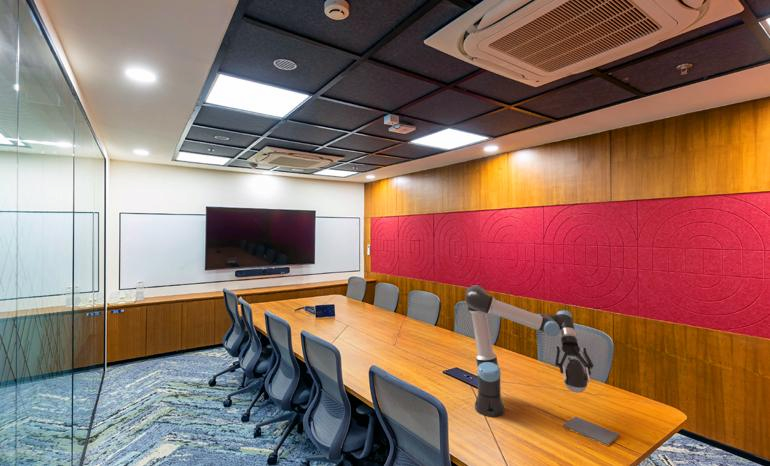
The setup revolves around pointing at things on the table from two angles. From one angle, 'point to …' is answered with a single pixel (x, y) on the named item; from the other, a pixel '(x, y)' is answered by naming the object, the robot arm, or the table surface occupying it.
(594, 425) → the mat
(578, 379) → the pump dispenser
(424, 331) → the table surface
